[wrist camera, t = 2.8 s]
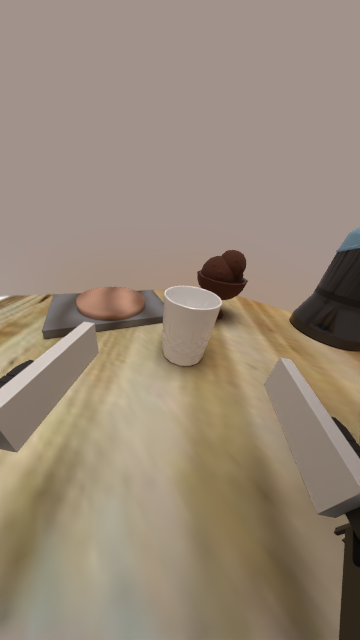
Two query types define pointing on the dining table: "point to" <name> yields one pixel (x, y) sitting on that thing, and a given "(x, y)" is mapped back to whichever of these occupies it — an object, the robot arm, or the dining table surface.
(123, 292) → the serving stand
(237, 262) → the ice cream bowl
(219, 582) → the dining table surface
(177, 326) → the white cup
